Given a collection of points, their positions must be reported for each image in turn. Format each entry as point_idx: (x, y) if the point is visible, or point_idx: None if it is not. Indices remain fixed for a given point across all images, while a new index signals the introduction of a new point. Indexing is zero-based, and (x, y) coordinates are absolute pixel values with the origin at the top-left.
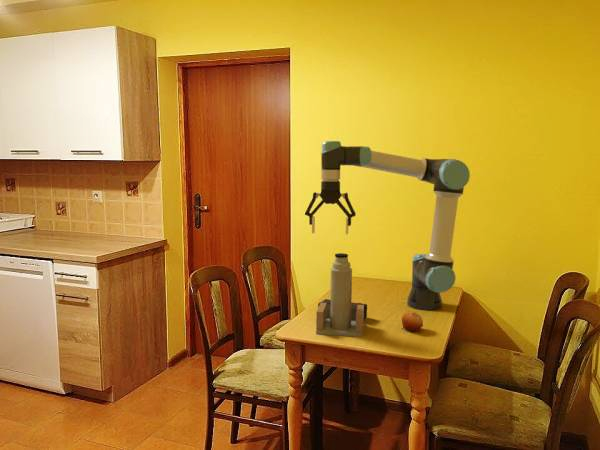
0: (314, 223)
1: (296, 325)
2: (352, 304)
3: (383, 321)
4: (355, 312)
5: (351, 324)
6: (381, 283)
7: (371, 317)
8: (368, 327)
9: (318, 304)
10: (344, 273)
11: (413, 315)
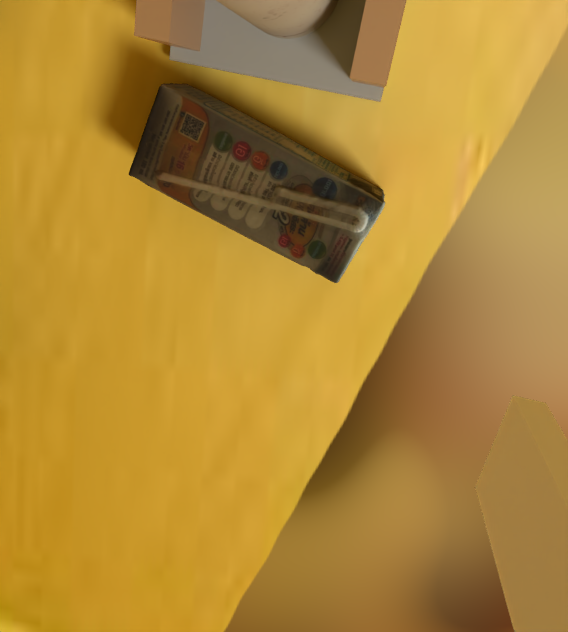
0: (525, 597)
1: (517, 40)
2: (201, 154)
3: (83, 109)
4: (196, 95)
5: None
6: (79, 605)
7: None
8: None
9: (383, 200)
10: None
11: None
